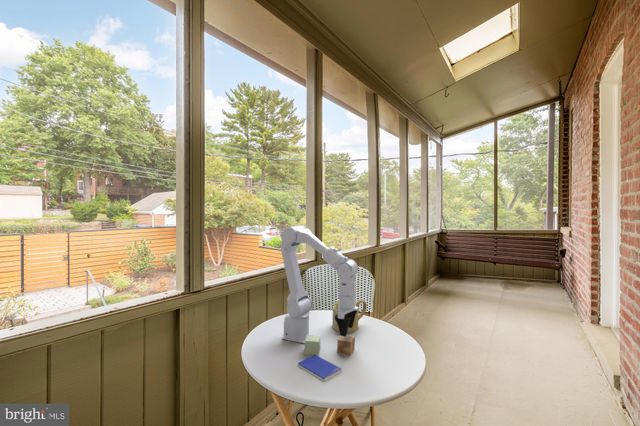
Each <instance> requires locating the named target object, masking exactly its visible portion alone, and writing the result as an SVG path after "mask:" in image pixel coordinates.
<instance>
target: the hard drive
mask: <svg viewBox="0 0 640 426" xmlns="http://www.w3.org/2000/svg"><path fill="white" fill-rule="evenodd" d="M297 366H298V367H300V368H301V369H303V370H304V371H306V372H308V373H310V374H311V375H314V376H315V377H316V378H318V379H320V380H321V381H323V382H325V381H328V380H329V379H331V378H332V377H334V376H337V375H338V374H340V373H342V372H343V369H342V368H341V367H339V366H337V365H335V364H334V363H331V362H330V361H328V360H326V359H324V358H322V357H320V356H318V355H310V356H309V357H307V358H305V359H303V360H301V361H299V362H297Z"/></svg>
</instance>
